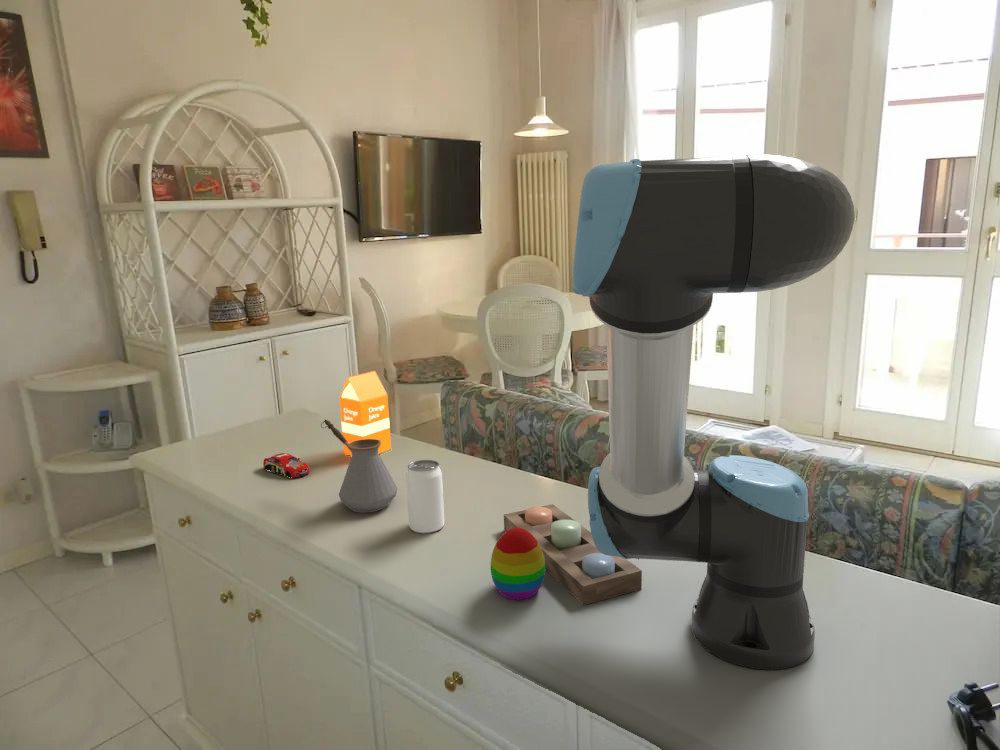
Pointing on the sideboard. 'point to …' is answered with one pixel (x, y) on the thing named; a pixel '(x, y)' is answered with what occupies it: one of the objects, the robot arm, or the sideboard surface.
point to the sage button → (565, 534)
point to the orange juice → (365, 411)
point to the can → (425, 496)
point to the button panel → (578, 561)
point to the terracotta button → (538, 516)
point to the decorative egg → (517, 564)
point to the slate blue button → (598, 565)
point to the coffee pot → (365, 476)
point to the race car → (286, 465)
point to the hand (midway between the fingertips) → (647, 416)
